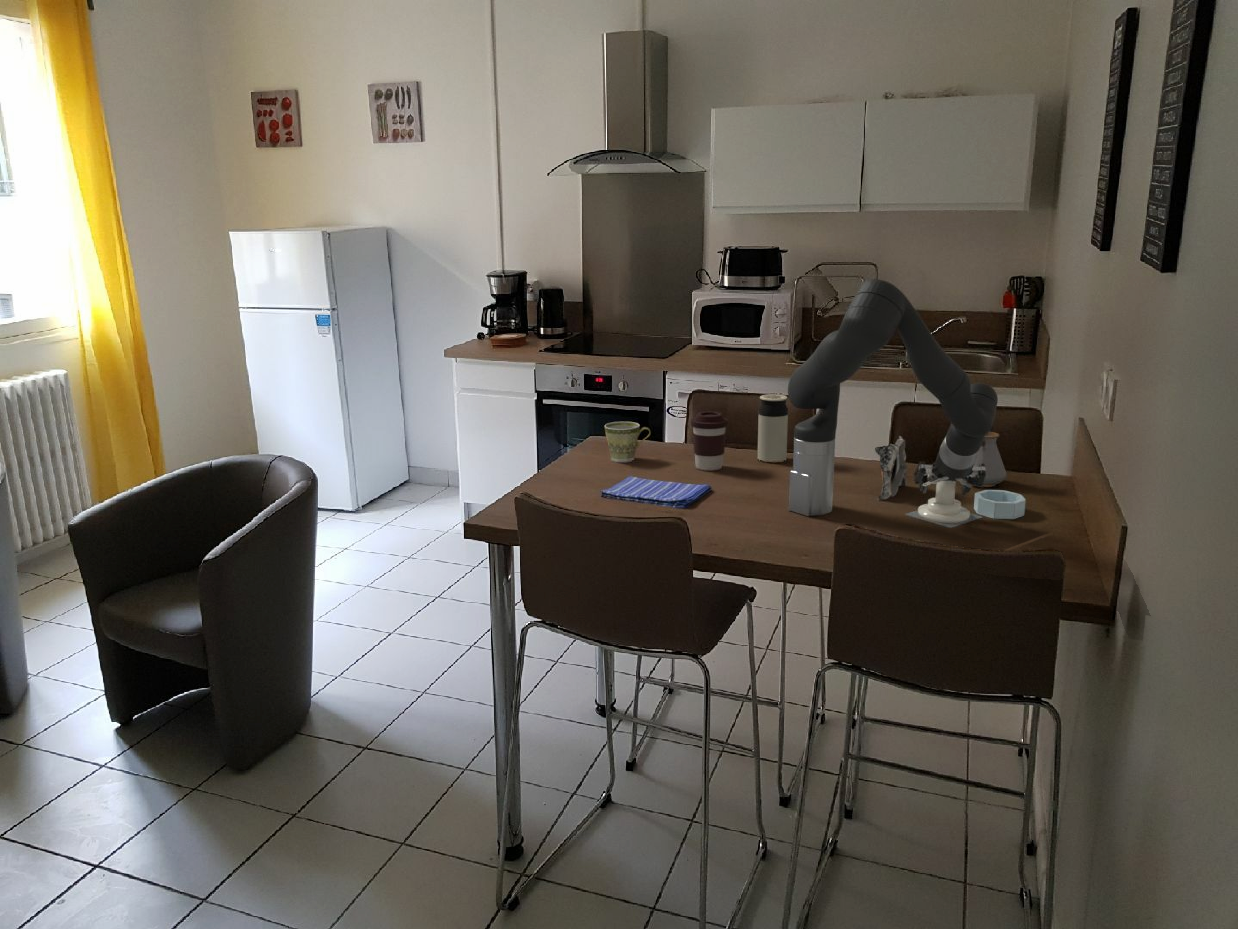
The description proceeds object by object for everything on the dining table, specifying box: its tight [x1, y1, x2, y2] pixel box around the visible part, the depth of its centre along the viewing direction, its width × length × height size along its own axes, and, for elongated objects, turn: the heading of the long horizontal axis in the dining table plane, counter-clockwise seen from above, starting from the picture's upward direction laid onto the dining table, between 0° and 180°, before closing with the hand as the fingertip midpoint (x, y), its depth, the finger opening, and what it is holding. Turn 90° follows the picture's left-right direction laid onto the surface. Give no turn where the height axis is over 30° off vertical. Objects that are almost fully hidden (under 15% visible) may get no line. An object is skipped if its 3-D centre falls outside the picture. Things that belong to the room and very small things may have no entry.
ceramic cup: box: [604, 421, 652, 463], centre depth 258 cm, size 13×10×10 cm
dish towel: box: [600, 476, 712, 509], centre depth 227 cm, size 17×24×3 cm
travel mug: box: [757, 393, 789, 462], centre depth 254 cm, size 8×8×18 cm
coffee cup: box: [690, 411, 729, 472], centre depth 248 cm, size 10×10×15 cm
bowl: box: [973, 489, 1027, 520], centre depth 208 cm, size 10×10×4 cm
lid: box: [917, 481, 971, 523], centre depth 205 cm, size 11×11×10 cm
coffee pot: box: [971, 431, 1008, 485], centre depth 225 cm, size 21×12×15 cm, turn 156°
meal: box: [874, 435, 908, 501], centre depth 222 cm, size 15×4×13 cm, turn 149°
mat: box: [904, 509, 983, 529], centre depth 206 cm, size 12×12×1 cm
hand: (943, 490), depth 206 cm, fingers open, 8 cm apart
